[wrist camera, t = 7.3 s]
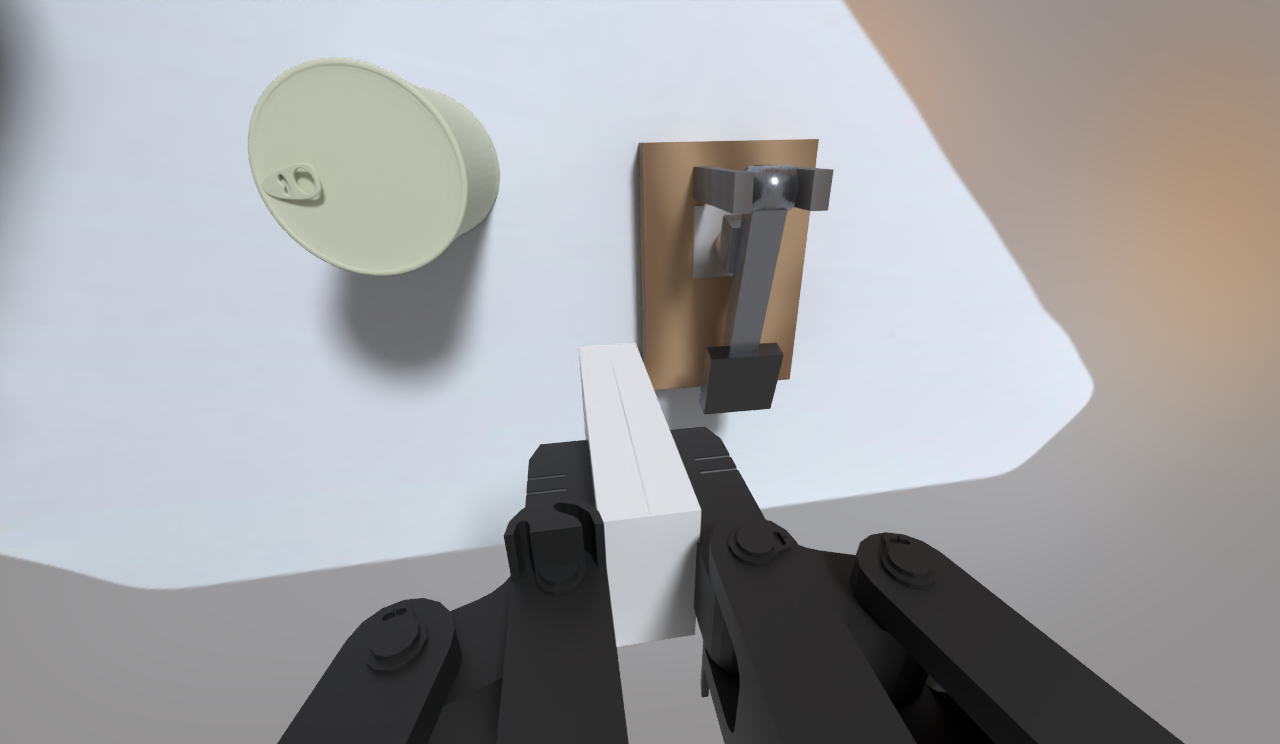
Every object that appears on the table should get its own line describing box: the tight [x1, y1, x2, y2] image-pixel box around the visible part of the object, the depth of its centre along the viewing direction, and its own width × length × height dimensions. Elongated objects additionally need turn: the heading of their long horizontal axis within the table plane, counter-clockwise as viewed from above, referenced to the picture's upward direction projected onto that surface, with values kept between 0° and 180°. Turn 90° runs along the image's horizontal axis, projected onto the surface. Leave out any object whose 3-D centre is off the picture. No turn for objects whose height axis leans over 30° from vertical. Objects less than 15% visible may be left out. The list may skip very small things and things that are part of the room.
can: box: [248, 58, 500, 276], centre depth 27 cm, size 9×9×12 cm
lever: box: [700, 165, 799, 414], centre depth 32 cm, size 5×17×4 cm, turn 1°
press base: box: [639, 139, 833, 390], centre depth 33 cm, size 12×18×11 cm, turn 1°
